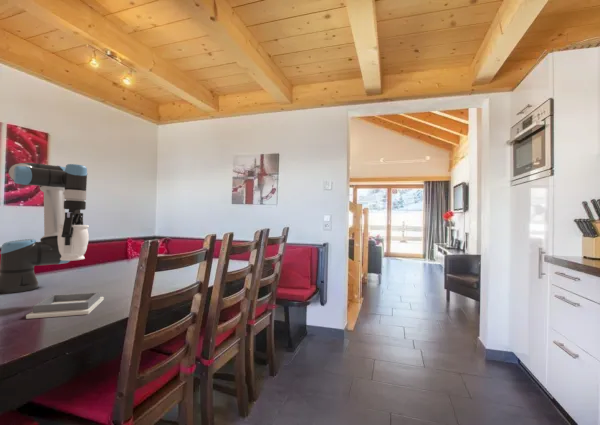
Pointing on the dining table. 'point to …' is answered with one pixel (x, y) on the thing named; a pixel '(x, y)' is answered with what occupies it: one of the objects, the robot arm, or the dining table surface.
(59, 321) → the dining table surface
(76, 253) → the jar
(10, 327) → the dining table surface
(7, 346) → the dining table surface
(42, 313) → the socket board
